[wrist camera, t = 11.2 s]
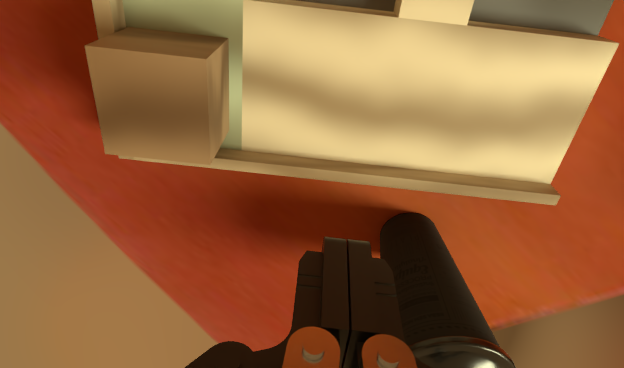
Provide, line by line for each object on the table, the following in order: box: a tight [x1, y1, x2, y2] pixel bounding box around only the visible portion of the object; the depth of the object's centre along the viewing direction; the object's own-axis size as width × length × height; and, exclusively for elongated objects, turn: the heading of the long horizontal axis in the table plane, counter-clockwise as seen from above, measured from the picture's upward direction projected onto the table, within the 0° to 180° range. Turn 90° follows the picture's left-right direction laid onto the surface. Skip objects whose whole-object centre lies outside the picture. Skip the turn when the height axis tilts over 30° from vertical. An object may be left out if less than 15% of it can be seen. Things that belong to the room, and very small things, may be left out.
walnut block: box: [84, 27, 229, 165], centre depth 23 cm, size 6×6×5 cm
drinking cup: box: [380, 213, 516, 368], centre depth 26 cm, size 8×8×20 cm
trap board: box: [92, 0, 619, 205], centre depth 24 cm, size 18×30×4 cm, turn 84°
